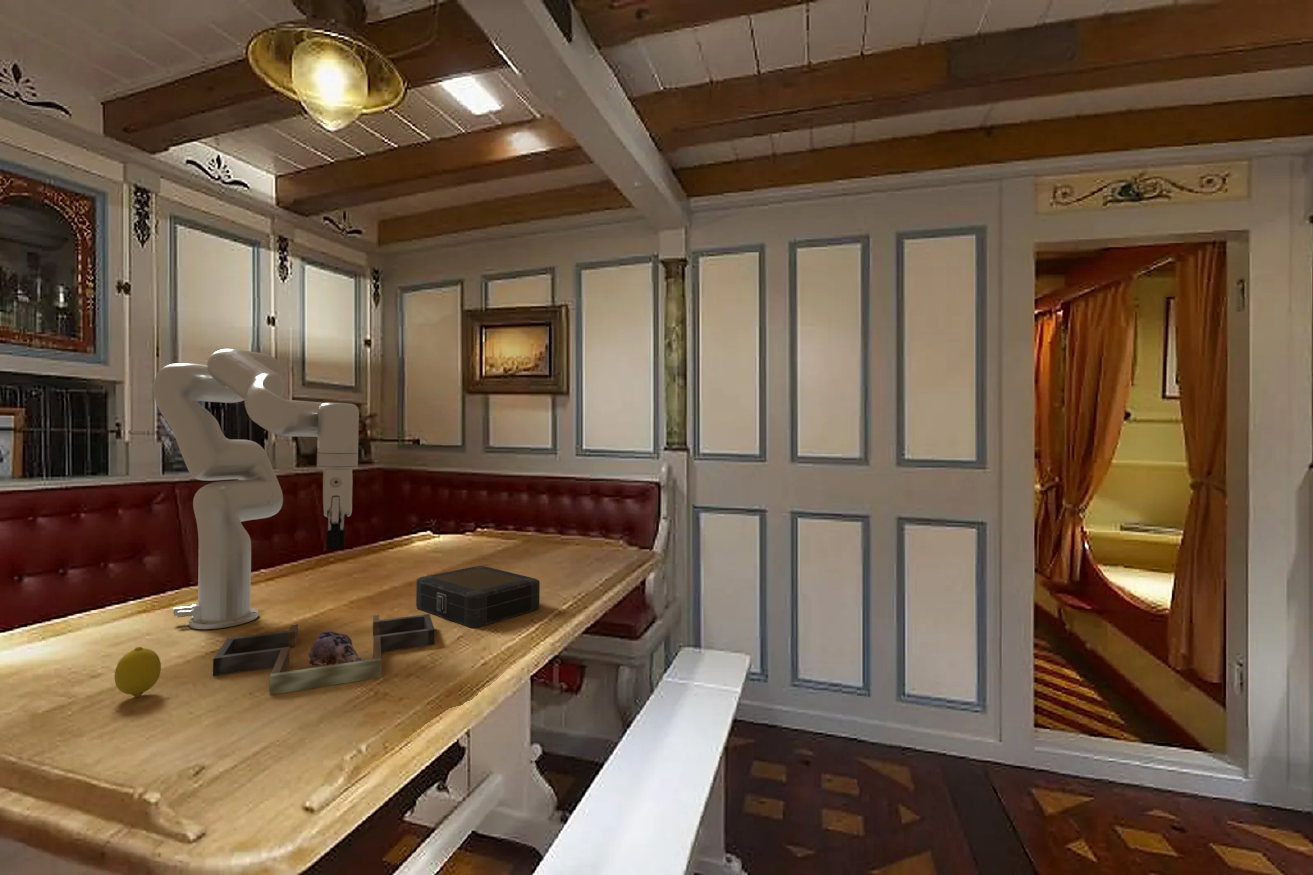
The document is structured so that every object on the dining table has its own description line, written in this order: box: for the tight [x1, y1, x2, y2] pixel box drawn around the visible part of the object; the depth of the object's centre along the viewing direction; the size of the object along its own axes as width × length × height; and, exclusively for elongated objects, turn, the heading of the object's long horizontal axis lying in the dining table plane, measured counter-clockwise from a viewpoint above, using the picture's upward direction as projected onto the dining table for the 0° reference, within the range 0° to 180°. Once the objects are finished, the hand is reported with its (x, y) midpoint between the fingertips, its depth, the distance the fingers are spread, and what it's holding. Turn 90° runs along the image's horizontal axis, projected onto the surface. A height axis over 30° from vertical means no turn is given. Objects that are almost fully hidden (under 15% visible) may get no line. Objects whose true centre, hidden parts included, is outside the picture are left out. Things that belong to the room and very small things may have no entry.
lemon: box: [114, 646, 162, 698], centre depth 92 cm, size 6×6×8 cm
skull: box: [308, 630, 364, 667], centre depth 104 cm, size 12×8×6 cm, turn 53°
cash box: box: [415, 565, 541, 629], centre depth 141 cm, size 25×20×8 cm
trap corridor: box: [212, 613, 436, 696], centre depth 110 cm, size 36×28×3 cm
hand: (335, 548), depth 120 cm, fingers closed
